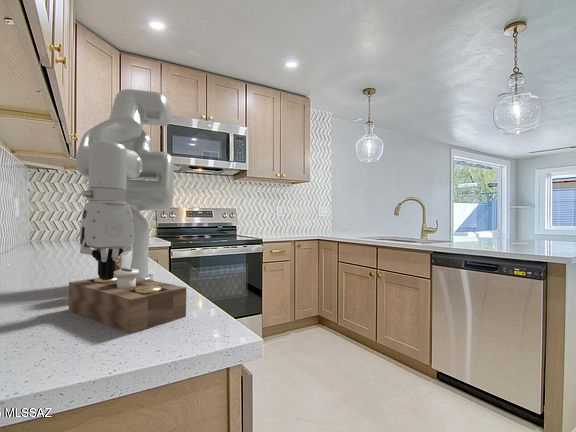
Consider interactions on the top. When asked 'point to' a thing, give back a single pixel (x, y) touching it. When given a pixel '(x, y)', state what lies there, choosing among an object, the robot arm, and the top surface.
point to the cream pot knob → (126, 277)
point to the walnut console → (127, 303)
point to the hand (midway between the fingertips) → (106, 278)
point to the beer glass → (124, 260)
